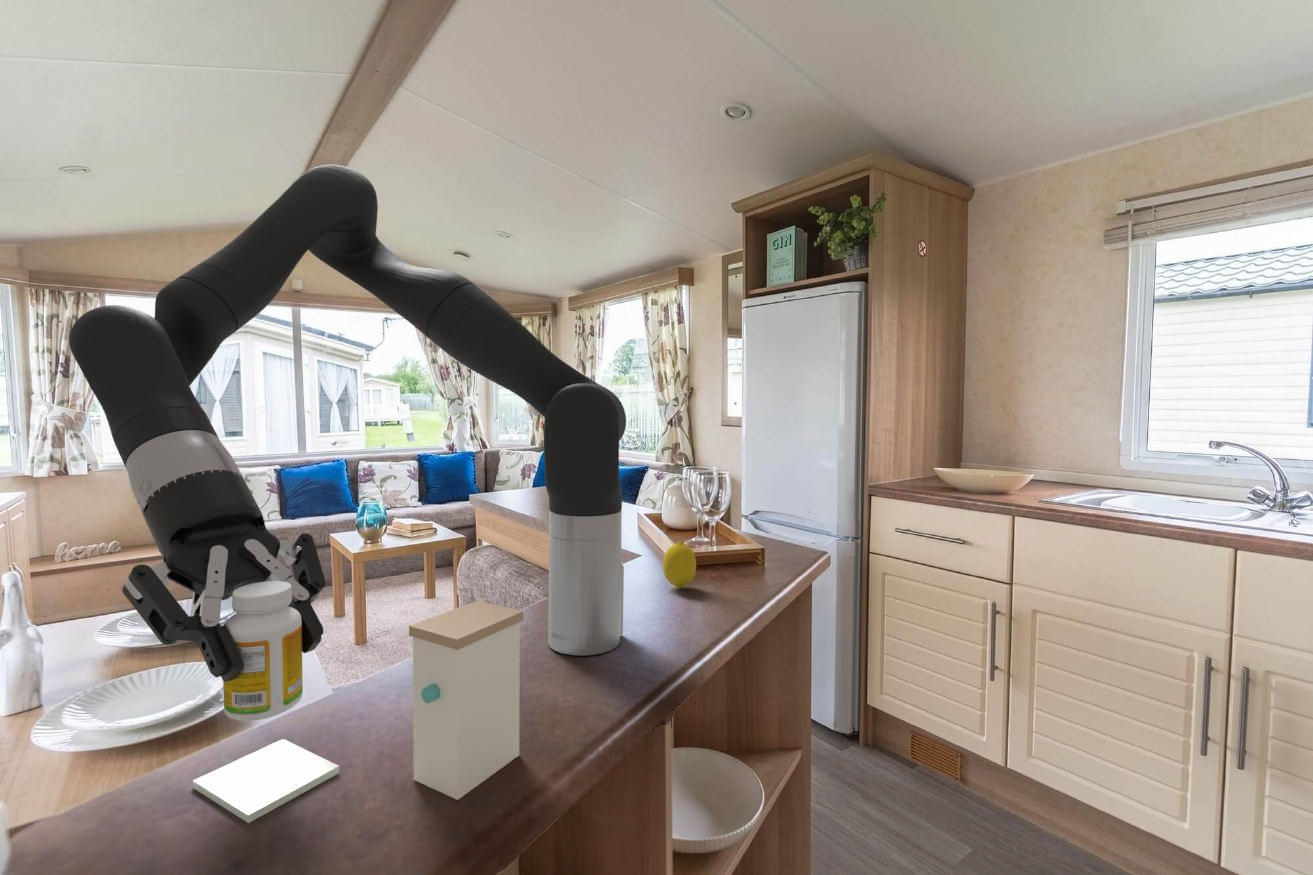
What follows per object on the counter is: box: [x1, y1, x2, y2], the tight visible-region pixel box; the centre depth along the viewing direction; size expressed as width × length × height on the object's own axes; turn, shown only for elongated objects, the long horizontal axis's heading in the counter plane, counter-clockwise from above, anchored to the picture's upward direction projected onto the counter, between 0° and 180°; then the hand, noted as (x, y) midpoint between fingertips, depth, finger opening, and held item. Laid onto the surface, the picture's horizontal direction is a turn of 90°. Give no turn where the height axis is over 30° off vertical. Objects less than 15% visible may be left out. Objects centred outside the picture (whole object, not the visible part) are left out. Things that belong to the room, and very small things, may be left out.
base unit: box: [408, 600, 524, 801], centre depth 51 cm, size 8×5×13 cm
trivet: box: [192, 738, 340, 824], centre depth 49 cm, size 7×8×1 cm
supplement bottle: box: [222, 580, 304, 722], centre depth 49 cm, size 5×5×10 cm
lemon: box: [662, 541, 697, 590], centre depth 102 cm, size 6×6×8 cm
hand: (275, 659), depth 48 cm, fingers closed on supplement bottle, 5 cm apart
